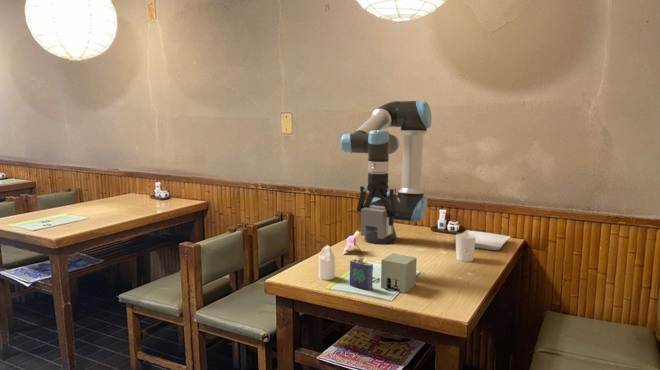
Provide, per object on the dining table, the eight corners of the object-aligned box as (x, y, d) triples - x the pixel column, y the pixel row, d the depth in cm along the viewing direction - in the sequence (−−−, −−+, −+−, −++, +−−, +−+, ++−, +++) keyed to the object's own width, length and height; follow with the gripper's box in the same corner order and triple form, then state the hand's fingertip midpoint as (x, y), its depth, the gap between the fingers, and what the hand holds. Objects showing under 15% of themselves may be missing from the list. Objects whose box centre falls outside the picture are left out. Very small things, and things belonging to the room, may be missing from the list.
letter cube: (390, 287, 172) (390, 276, 171) (395, 284, 175) (396, 273, 175) (401, 289, 170) (401, 278, 169) (406, 286, 173) (406, 275, 173)
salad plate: (500, 253, 214) (500, 246, 213) (452, 246, 225) (452, 239, 224) (511, 242, 231) (511, 235, 231) (466, 236, 242) (466, 229, 242)
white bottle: (318, 247, 177) (318, 243, 183) (318, 280, 179) (318, 274, 185) (335, 247, 177) (334, 243, 183) (335, 280, 179) (334, 274, 185)
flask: (373, 288, 170) (374, 258, 169) (369, 291, 168) (369, 260, 166) (352, 283, 176) (352, 253, 174) (347, 285, 174) (347, 255, 172)
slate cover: (360, 235, 185) (360, 209, 184) (372, 230, 193) (372, 205, 191) (382, 238, 180) (382, 211, 179) (393, 233, 188) (393, 207, 186)
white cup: (475, 263, 200) (476, 238, 198) (455, 261, 201) (456, 237, 200) (473, 257, 207) (474, 234, 206) (454, 256, 209) (455, 233, 207)
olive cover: (380, 287, 171) (381, 259, 170) (392, 280, 179) (393, 253, 177) (404, 293, 167) (405, 264, 165) (415, 285, 174) (416, 257, 172)
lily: (350, 249, 223) (340, 231, 220) (373, 242, 217) (363, 224, 215) (342, 264, 213) (332, 246, 210) (366, 257, 207) (355, 238, 205)
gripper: (347, 171, 186) (347, 230, 189) (400, 175, 174) (399, 238, 177) (357, 169, 192) (357, 226, 195) (409, 173, 180) (407, 233, 183)
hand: (377, 231), depth 186 cm, fingers closed on slate cover, 9 cm apart
